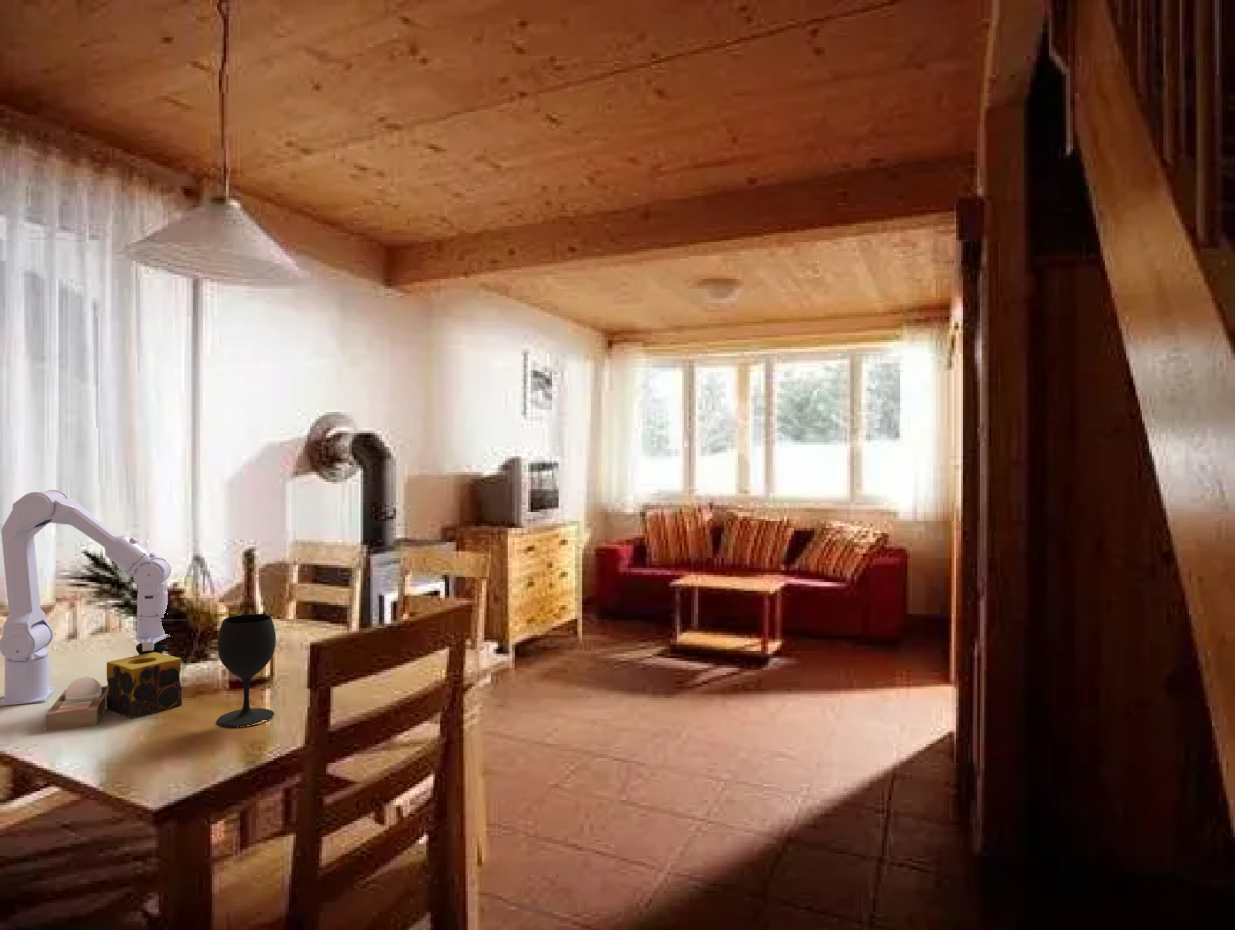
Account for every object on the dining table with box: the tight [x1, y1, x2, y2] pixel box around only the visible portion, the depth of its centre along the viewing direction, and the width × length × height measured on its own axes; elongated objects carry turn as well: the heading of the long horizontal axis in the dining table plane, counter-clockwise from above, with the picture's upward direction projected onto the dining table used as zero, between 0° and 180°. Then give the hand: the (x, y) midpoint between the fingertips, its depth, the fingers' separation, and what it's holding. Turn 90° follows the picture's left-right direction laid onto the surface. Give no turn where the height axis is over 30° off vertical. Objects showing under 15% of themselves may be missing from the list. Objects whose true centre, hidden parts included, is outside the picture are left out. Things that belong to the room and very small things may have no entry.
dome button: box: [65, 676, 102, 700], centre depth 154 cm, size 6×6×6 cm
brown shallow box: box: [44, 685, 108, 731], centre depth 151 cm, size 16×8×3 cm, turn 26°
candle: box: [106, 652, 183, 719], centre depth 156 cm, size 10×10×10 cm
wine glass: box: [216, 613, 277, 728], centre depth 150 cm, size 10×10×20 cm
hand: (151, 675), depth 166 cm, fingers closed
